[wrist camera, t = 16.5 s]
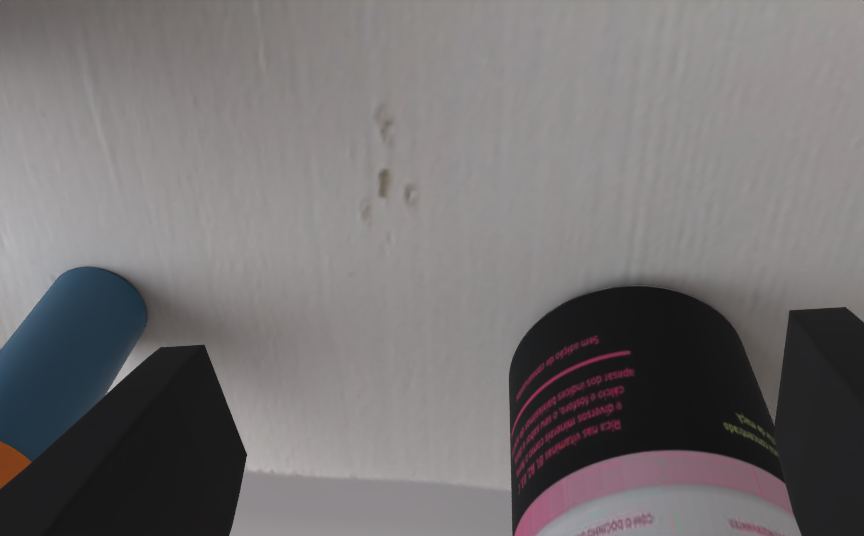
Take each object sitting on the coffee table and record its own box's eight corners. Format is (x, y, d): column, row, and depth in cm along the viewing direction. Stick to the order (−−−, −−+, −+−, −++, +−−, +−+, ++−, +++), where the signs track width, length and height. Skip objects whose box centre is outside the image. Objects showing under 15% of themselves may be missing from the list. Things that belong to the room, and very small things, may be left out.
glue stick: (120, 360, 25) (-20, 594, 18) (32, 305, 24) (-149, 532, 17) (170, 305, 24) (37, 538, 17) (78, 244, 23) (-101, 466, 16)
